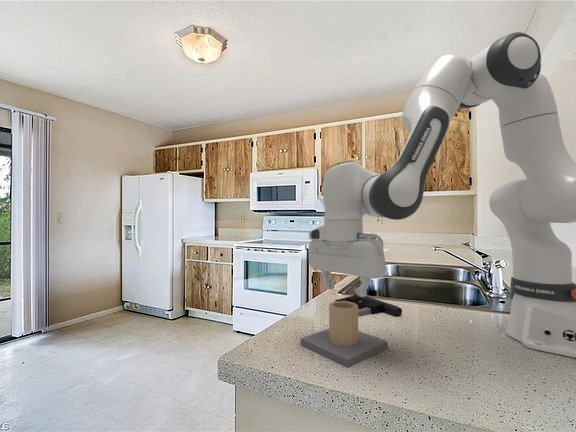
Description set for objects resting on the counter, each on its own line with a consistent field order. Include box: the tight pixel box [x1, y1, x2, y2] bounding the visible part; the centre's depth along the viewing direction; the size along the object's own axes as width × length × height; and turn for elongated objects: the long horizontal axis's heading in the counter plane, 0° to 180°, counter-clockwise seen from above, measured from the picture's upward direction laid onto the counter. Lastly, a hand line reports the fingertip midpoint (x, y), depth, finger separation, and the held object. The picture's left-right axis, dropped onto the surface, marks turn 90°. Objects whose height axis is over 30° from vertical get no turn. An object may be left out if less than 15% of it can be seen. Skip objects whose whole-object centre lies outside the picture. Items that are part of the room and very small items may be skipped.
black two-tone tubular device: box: [333, 293, 403, 318], centre depth 98 cm, size 3×20×16 cm
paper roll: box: [328, 300, 359, 346], centre depth 71 cm, size 6×6×8 cm
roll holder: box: [300, 328, 389, 368], centre depth 71 cm, size 14×14×8 cm
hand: (344, 292), depth 71 cm, fingers open, 8 cm apart
